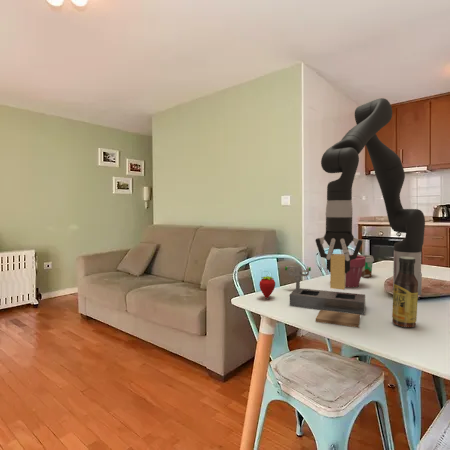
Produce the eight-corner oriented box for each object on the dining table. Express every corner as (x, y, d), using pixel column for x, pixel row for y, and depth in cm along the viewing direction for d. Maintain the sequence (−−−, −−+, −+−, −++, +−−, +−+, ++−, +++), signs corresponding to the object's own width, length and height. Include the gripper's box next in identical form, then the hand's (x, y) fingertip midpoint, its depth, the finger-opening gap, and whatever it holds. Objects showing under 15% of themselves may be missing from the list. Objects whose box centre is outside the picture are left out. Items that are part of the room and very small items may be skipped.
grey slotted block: (365, 305, 113) (365, 294, 113) (364, 314, 104) (364, 302, 104) (296, 298, 123) (296, 287, 123) (289, 305, 114) (289, 294, 114)
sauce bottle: (387, 321, 98) (388, 255, 97) (407, 320, 98) (408, 255, 97) (401, 329, 91) (402, 259, 90) (422, 328, 92) (423, 258, 91)
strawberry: (277, 296, 126) (277, 270, 125) (272, 301, 119) (272, 274, 118) (263, 294, 128) (262, 269, 128) (256, 300, 121) (256, 273, 121)
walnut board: (360, 317, 101) (360, 314, 101) (358, 327, 93) (358, 324, 93) (320, 312, 106) (320, 309, 106) (315, 321, 98) (315, 318, 98)
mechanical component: (310, 291, 132) (310, 267, 132) (285, 290, 134) (285, 266, 134) (310, 289, 135) (310, 266, 135) (285, 288, 137) (285, 265, 137)
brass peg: (345, 286, 100) (346, 254, 99) (344, 289, 96) (344, 256, 96) (332, 285, 102) (332, 253, 101) (330, 288, 98) (330, 255, 98)
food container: (378, 278, 154) (378, 257, 154) (365, 278, 154) (365, 258, 154) (367, 273, 166) (367, 254, 166) (355, 273, 166) (355, 254, 166)
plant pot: (349, 280, 152) (349, 253, 151) (372, 287, 138) (373, 257, 138) (323, 283, 147) (323, 255, 146) (345, 290, 133) (345, 259, 133)
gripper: (365, 215, 98) (364, 271, 99) (316, 215, 104) (316, 268, 105) (364, 216, 91) (363, 276, 92) (312, 215, 98) (312, 272, 98)
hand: (338, 271), depth 99 cm, fingers closed on brass peg, 4 cm apart
